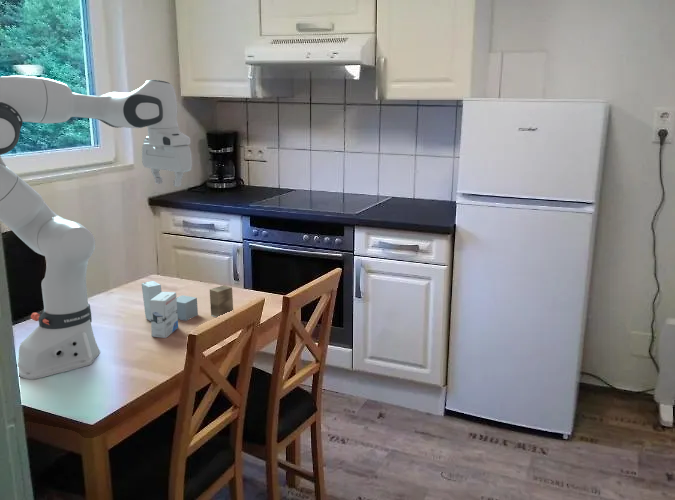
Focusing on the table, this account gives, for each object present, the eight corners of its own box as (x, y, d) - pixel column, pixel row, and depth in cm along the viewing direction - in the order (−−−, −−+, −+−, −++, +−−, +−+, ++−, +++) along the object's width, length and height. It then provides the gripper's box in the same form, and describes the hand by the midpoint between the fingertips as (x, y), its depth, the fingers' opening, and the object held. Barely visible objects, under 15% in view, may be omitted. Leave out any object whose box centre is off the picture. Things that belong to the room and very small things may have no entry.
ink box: (164, 326, 196) (161, 290, 193) (179, 327, 195) (177, 291, 192) (151, 337, 188) (148, 299, 185) (167, 338, 187) (164, 300, 184)
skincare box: (165, 320, 201) (162, 284, 198) (152, 323, 199) (148, 287, 196) (157, 315, 206) (154, 279, 203) (144, 318, 203) (141, 282, 200)
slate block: (186, 321, 201) (184, 303, 200) (171, 318, 204) (170, 300, 202) (197, 315, 206) (196, 297, 205) (183, 312, 209) (182, 295, 207)
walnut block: (218, 318, 203) (217, 292, 201) (211, 315, 206) (209, 289, 203) (233, 313, 207) (232, 287, 205) (225, 310, 210) (224, 285, 208)
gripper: (134, 136, 188) (139, 182, 191) (175, 140, 175) (179, 189, 178) (152, 135, 192) (156, 180, 196) (194, 138, 179) (197, 186, 183)
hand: (168, 184), depth 187 cm, fingers open, 8 cm apart
